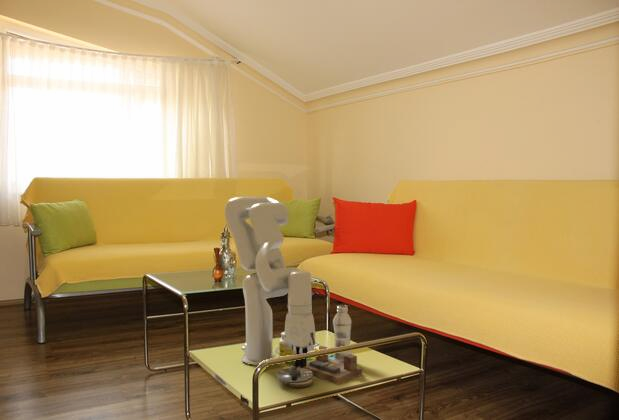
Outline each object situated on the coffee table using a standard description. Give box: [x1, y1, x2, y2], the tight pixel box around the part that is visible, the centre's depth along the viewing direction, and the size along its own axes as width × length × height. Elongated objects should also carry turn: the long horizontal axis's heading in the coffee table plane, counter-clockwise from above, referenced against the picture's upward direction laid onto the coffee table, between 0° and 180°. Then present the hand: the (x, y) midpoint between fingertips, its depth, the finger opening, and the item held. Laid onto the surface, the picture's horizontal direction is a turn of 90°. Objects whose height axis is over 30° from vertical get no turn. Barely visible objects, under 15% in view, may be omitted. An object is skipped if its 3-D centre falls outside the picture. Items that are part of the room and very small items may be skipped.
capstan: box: [276, 361, 315, 388], centre depth 168 cm, size 12×12×6 cm
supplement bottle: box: [278, 331, 294, 357], centre depth 191 cm, size 5×5×10 cm
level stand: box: [302, 345, 363, 385], centre depth 178 cm, size 18×12×6 cm, turn 45°
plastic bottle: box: [332, 304, 353, 363], centre depth 188 cm, size 6×7×20 cm
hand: (301, 366), depth 170 cm, fingers closed
